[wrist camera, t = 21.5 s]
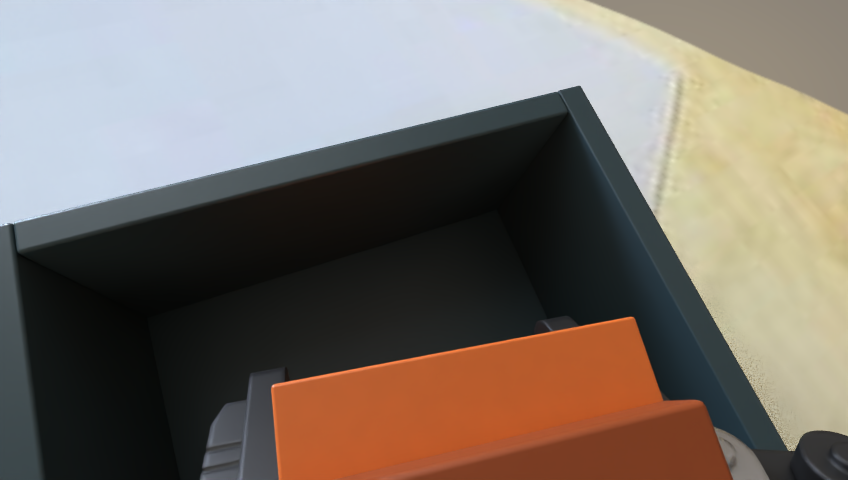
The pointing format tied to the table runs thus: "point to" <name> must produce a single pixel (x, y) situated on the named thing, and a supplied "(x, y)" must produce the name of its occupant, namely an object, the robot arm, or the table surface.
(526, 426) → the block
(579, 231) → the bin
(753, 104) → the table surface
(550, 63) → the table surface
